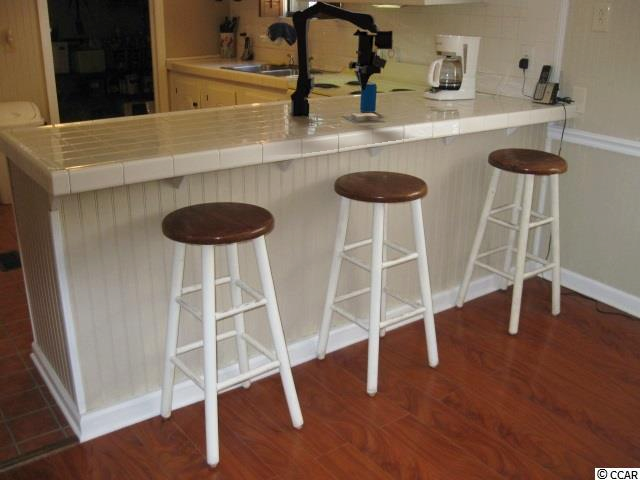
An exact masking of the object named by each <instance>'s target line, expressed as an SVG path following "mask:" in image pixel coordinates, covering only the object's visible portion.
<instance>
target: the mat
mask: <svg viewBox="0 0 640 480" xmlns="http://www.w3.org/2000/svg"><path fill="white" fill-rule="evenodd" d="M341 118H343V119H345V120H347V121H349V122H351V123H353V124H365V123H366V124H370V123H386V121H385V120H383V119H381V118H378V120H375V121H356V120H354V119H352V118H351V115H342V116H341Z"/></svg>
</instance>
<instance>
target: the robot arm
mask: <svg viewBox="0 0 640 480" xmlns="http://www.w3.org/2000/svg"><path fill="white" fill-rule="evenodd" d="M320 14H324V15H327V16H330V17H334V18H336V19H339V20H343V21H346V22H349V23H351V24H352V25H354V26H355V27H358V29H356V31H355V32H354V33H353V37H356V36H357V37H358V39H357V40H358V43H357V50H355V54H357V61H356V60H351V61H350V62H349V63H348V69H350V70H353V69H355V70H354V71H353V72H354V74H355V76H356V78H357V81H358V84H359V86H360V90H361V89H362V90H365V88H366V86H367V83H368V82H369V79H370V78H371V76H373V75H374V74H378V75H379V74H382V71H381V70H382V69H385V66H386V65H387V60H386V59H384V58H383V57H381V56H380V55H378V54H376V52H375V51H374V46H375V47H376V48H377V50H393V47H394V39H393V38H394V34H393V33H394V31H393V30H380V29H379V28H378V26H377V25H376V19H375V16H374V15H373V14H371V13H367V12H358V11H356V12H355V11H351V10H348V9H345V8H341V7H338V6H335V5H332V4H329V3H326V2H324V1H321V0H320V1H317V2H315V3H314V4H312V5H310V6H309V7H306V8H305V9H303V10H297V11H295V12H294V13H293V14H292V17H291V20H292V25H293V29H294V33H295V35H296V43H297V44H296V45H297V46H296V48H297V63H298V65H297V67H298V75H297V80H296V88H295V91H294V92H293V93H292V94H290V98H291V100H290V104H291V105H290V109H291V111H290V112H289V114H290V115H292V116H293V117H309V116H310V103H309V99H308V98H309V96H310V95H311V94H312V93H313V92H314V88H315V87H316V85H315V76H311V74H310V61H309V59H310V58H309V41H308V38H309V37H308V34H309V29H310V25H311V20H312V19H314V18H316V17H317V16H319V15H320ZM360 29H361V30H363V31H361V30H360ZM369 32H370V33H371V34H369Z"/></svg>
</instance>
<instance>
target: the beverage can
mask: <svg viewBox="0 0 640 480" xmlns="http://www.w3.org/2000/svg"><path fill="white" fill-rule="evenodd" d="M377 90H378V86H377V83H376V82H371V81H368V83H367V86H366V88H365V90H362V89H361V88H360V104H359V106H360V107H359V110H360V111H361V112H363V113H374V112H375V111H376V108H377V105H376V104H377Z"/></svg>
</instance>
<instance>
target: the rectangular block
mask: <svg viewBox="0 0 640 480" xmlns="http://www.w3.org/2000/svg"><path fill="white" fill-rule="evenodd" d="M350 116H351V118H352V119H354V120H356V121H375V120H378V119H379V115H378V114H375V113H374V112H371V113H367V112H363V113H359V112H358V113H351V115H350Z"/></svg>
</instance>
